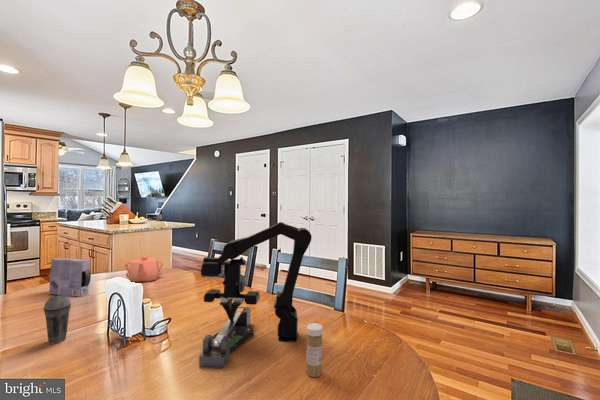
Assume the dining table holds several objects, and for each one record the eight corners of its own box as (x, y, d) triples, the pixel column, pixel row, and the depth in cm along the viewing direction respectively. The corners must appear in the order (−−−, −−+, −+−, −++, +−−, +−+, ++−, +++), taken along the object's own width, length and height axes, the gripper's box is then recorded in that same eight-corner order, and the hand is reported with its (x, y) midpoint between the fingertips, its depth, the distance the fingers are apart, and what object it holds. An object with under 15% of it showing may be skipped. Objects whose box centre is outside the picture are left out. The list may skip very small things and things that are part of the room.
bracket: (250, 323, 113) (250, 306, 113) (223, 368, 83) (223, 344, 83) (232, 322, 114) (232, 305, 114) (199, 366, 84) (199, 343, 84)
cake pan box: (91, 294, 144) (91, 259, 144) (82, 297, 139) (82, 261, 139) (58, 291, 147) (58, 257, 147) (48, 295, 142) (48, 259, 142)
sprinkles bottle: (313, 366, 85) (313, 321, 85) (325, 373, 82) (325, 326, 82) (302, 373, 82) (303, 326, 81) (314, 380, 78) (315, 331, 78)
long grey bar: (244, 311, 111) (244, 307, 111) (220, 348, 87) (220, 343, 86) (236, 310, 111) (236, 306, 111) (210, 348, 87) (210, 343, 87)
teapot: (119, 287, 155) (119, 262, 155) (127, 278, 173) (127, 255, 173) (160, 284, 162) (160, 260, 162) (164, 275, 180) (164, 253, 180)
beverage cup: (37, 347, 93) (38, 286, 93) (50, 336, 100) (51, 279, 100) (64, 344, 95) (64, 284, 95) (75, 334, 102) (75, 278, 102)
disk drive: (229, 330, 108) (203, 349, 94) (230, 323, 108) (204, 341, 94) (254, 335, 105) (230, 356, 91) (254, 328, 105) (230, 347, 91)
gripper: (263, 271, 108) (262, 312, 109) (215, 269, 110) (215, 310, 110) (256, 280, 97) (255, 326, 98) (203, 278, 99) (202, 323, 99)
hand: (231, 320), depth 102 cm, fingers closed, pressing on long grey bar
